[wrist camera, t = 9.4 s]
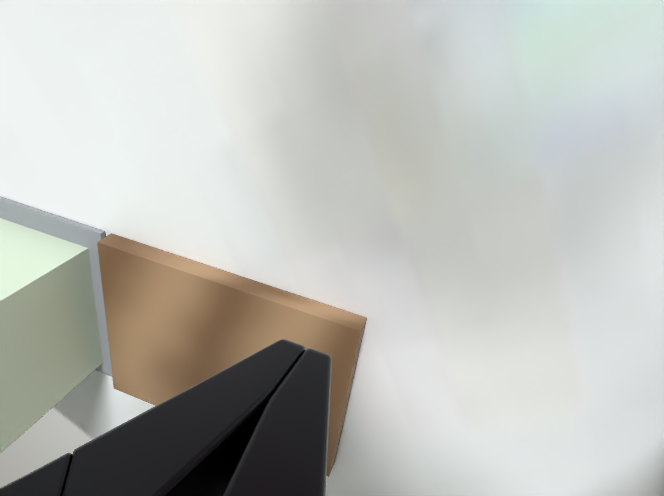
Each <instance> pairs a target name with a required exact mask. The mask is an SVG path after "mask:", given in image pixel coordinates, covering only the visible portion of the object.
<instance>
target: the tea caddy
mask: <svg viewBox="0 0 664 496" xmlns="http://www.w3.org/2000/svg"><path fill="white" fill-rule="evenodd" d="M102 363H103V360H102V352H101V345H100V337H99V329H98V321H97V313H96V305H95V298H94V290H93V282H92V274H91V266H90V258H89V250H88V248H86V247H84V246H81V245H78V244H75V243H72V242H69V241H66V240H63V239H60V238H57V237H54V236H51V235H48V234H45V233H43V232H40V231H37V230H34V229H31V228H28V227H25V226H22V225H19V224H16V223H13V222H10V221H7V220H4V219H2V218H0V454H1V453H2V452H3V451H4V450H5V449H6V448H7V447H9V446H10V445H11V444H12V443H13V442H14V441H15V440H16V439H17V438H19V437H20V436H21V435H22V434H23V433H24V432H25V431H27V430H28V429H29V428H30V427H31V426H32V425H33V424H34V423H36V422H37V421H38V420H39V419H40V418H41V417H42V416H43V415H45V414H46V413H47V412H48V411H49V410H50V409H51V408H52V407H54V406H55V405H56V404H57V403H58V402H59V401H60V400H61V399H63V398H64V397H65V396H66V395H67V394H68V393H69V392H70V391H72V390H73V389H74V388H75V387H76V386H77V385H78V384H79V383H80V382H82V381H83V380H84V379H85V378H86V377H87V376H88V375H89V374H91V373H92V372H93V371H94V370H95V369H96V368H97V367H98V366H100V365H101V364H102Z"/></svg>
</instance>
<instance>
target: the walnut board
mask: <svg viewBox="0 0 664 496" xmlns="http://www.w3.org/2000/svg"><path fill="white" fill-rule="evenodd" d="M97 246H98V255H99V264H100V272H101V281H102V290H103V298H104V307H105V316H106V325H107V333H108V342H109V351H110V359H111V368H112V377H113V385H114V389H117V390H119V391H122V392H124V393H126V394H129V395H131V396H134V397H136V398H139V399H141V400H143V401H146V402H148V403H151V404H153V405H156V406H157V405H159V404H161V403H162V402H164V401H166V400H168V399H170V398H172V397H174V396H176V395H177V394H179V393H181V392H183V391H185V390H187V389H189V388H190V387H192V386H194V385H196V384H198V383H200V382H202V381H204V380H205V379H207V378H209V377H211V376H213V375H215V374H217V373H218V372H220V371H222V370H224V369H226V368H228V367H230V366H232V365H233V364H235V363H237V362H239V361H241V360H243V359H245V358H246V357H248V356H250V355H252V354H254V353H256V352H258V351H259V350H261V349H263V348H265V347H267V346H269V345H271V344H273V343H274V342H276V341H278V340H281V339H287V340H289V341H292V342H295V343H298V344H301V345H303V346H304V347H305V348H306V349H309V348H312V349H315V350H318V351H321V352H323V353H326V354H329V355H330V356H331V358H332V364H331V385H330V406H329V427H328V449H327V470H326V476H328V477H329V474H330V472H331V470H332V467H333V465H334V462H335V458H336V454H337V449H338V445H339V440H340V436H341V431H342V427H343V422H344V418H345V413H346V409H347V405H348V400H349V396H350V391H351V387H352V382H353V378H354V373H355V369H356V364H357V360H358V355H359V351H360V346H361V342H362V337H363V333H364V328H365V324H366V319H367V318H365V317H362V316H359V315H356V314H353V313H350V312H347V311H344V310H341V309H338V308H335V307H332V306H329V305H326V304H323V303H320V302H317V301H314V300H311V299H308V298H305V297H302V296H299V295H296V294H293V293H290V292H287V291H284V290H281V289H278V288H275V287H272V286H269V285H266V284H263V283H260V282H257V281H254V280H250V279H247V278H244V277H241V276H238V275H235V274H232V273H229V272H226V271H223V270H220V269H217V268H214V267H211V266H208V265H205V264H202V263H199V262H196V261H193V260H190V259H187V258H184V257H181V256H178V255H175V254H172V253H169V252H166V251H163V250H160V249H157V248H154V247H151V246H148V245H145V244H142V243H139V242H136V241H133V240H130V239H127V238H123V237H120V236H117V235H114V234H110V235H108V236H106V237H105V238H103V239H101V240H100V241H98V242H97Z"/></svg>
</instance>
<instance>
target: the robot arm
mask: <svg viewBox="0 0 664 496" xmlns="http://www.w3.org/2000/svg"><path fill="white" fill-rule="evenodd" d="M331 364H332V358H331V356H330V355H329V354H326V353H323V352H321V351H318V350H315V349H312V348H309V349H306V348H305V347H304V346H303V345H301V344H298V343H295V342H292V341H289V340H287V339H281V340H278V341H276V342H274V343H273V344H271V345H269V346H267V347H265V348H263V349H261V350H259V351H258V352H256V353H254V354H252V355H250V356H248V357H246V358H245V359H243V360H241V361H239V362H237V363H235V364H233V365H232V366H230V367H228V368H226V369H224V370H222V371H220V372H218V373H217V374H215V375H213V376H211V377H209V378H207V379H205V380H204V381H202V382H200V383H198V384H196V385H194V386H192V387H190V388H189V389H187V390H185V391H183V392H181V393H179V394H177V395H176V396H174V397H172V398H170V399H168V400H166V401H164V402H162V403H161V404H159V405H157V406H155V407H153V408H151V409H149V410H148V411H146V412H144V413H142V414H140V415H138V416H136V417H135V418H133V419H131V420H129V421H127V422H125V423H123V424H121V425H120V426H118V427H116V428H114V429H112V430H110V431H108V432H107V433H105V434H103V435H101V436H99V437H97V438H95V439H93V440H92V441H90V442H88V443H86V444H84V445H82V446H80V447H79V448H77V449H75V450H74V452H73V455H72V454H71V453H67V454H65V455H63V456H61V457H60V458H58V459H56V460H54V461H52V462H50V463H48V464H46V465H44V466H43V467H41V468H39V469H37V470H35V471H33V472H31V473H29V474H27V475H25V476H23V477H21V478H19V479H17V480H15V481H13V482H11V483H9V484H8V485H6V486H4V487H2V488H0V496H325V491H326V470H327V449H328V427H329V406H330V385H331Z"/></svg>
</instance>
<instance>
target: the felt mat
mask: <svg viewBox="0 0 664 496" xmlns="http://www.w3.org/2000/svg"><path fill="white" fill-rule="evenodd" d="M0 218H2V219H4V220H7V221H10V222H13V223H16V224H19V225H22V226H25V227H28V228H31V229H34V230H37V231H40V232H43V233H45V234H48V235H51V236H54V237H57V238H60V239H63V240H66V241H69V242H72V243H75V244H78V245H81V246H84V247H86V248H88V250H89V258H90V266H91V274H92V282H93V290H94V298H95V305H96V313H97V321H98V329H99V337H100V345H101V352H102V360H103V363H102V364H101V365H100V366H98V367H97V368H96V369H95V370H97V371H100V372H102V373H105V374H107V375H110V376H112V368H111V359H110V351H109V342H108V333H107V325H106V316H105V307H104V298H103V290H102V281H101V272H100V264H99V255H98V246H97V242H98V241H100V240H101V239H103V238H105V231H102V230H99V229H96V228H93V227H90V226H87V225H84V224H81V223H78V222H75V221H72V220H69V219H66V218H63V217H60V216H57V215H54V214H51V213H48V212H45V211H42V210H39V209H36V208H33V207H30V206H27V205H24V204H21V203H18V202H15V201H12V200H9V199H6V198H3V197H0Z"/></svg>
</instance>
